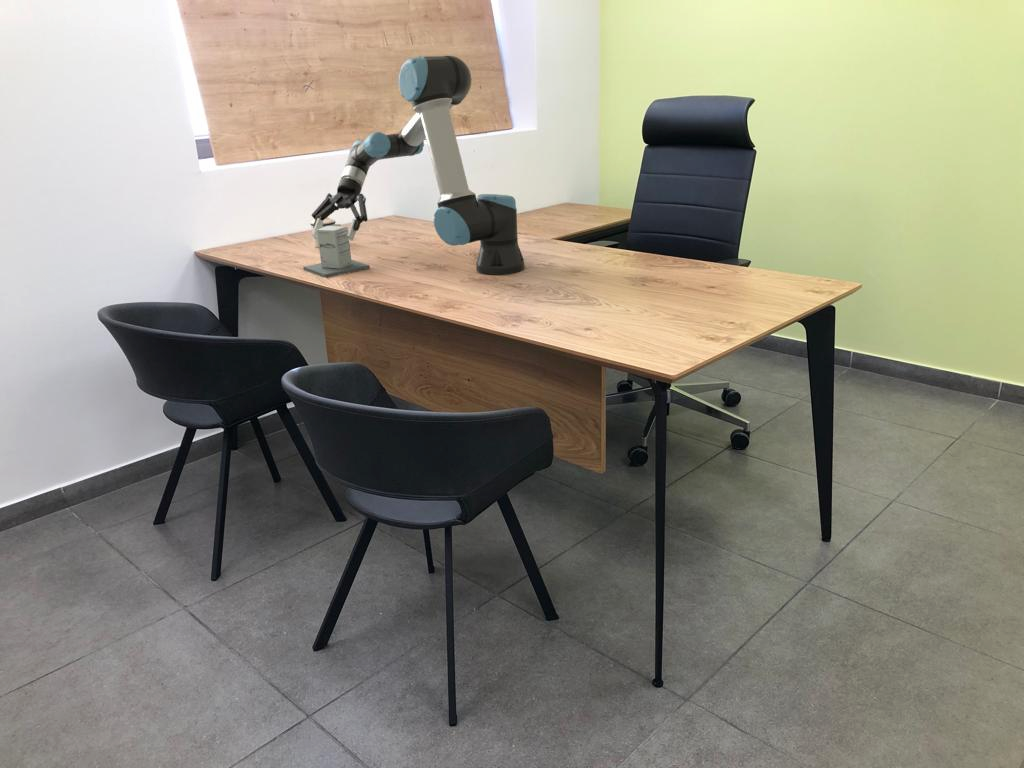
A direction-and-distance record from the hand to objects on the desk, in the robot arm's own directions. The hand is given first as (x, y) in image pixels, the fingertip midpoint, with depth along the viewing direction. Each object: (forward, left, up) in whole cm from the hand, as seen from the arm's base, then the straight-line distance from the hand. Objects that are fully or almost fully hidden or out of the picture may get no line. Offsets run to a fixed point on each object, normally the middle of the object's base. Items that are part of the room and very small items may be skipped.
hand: (332, 237), depth 262 cm
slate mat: (0, 0, -10) cm, 10 cm away
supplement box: (-1, 0, -9) cm, 9 cm away
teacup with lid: (+38, -16, -10) cm, 42 cm away
